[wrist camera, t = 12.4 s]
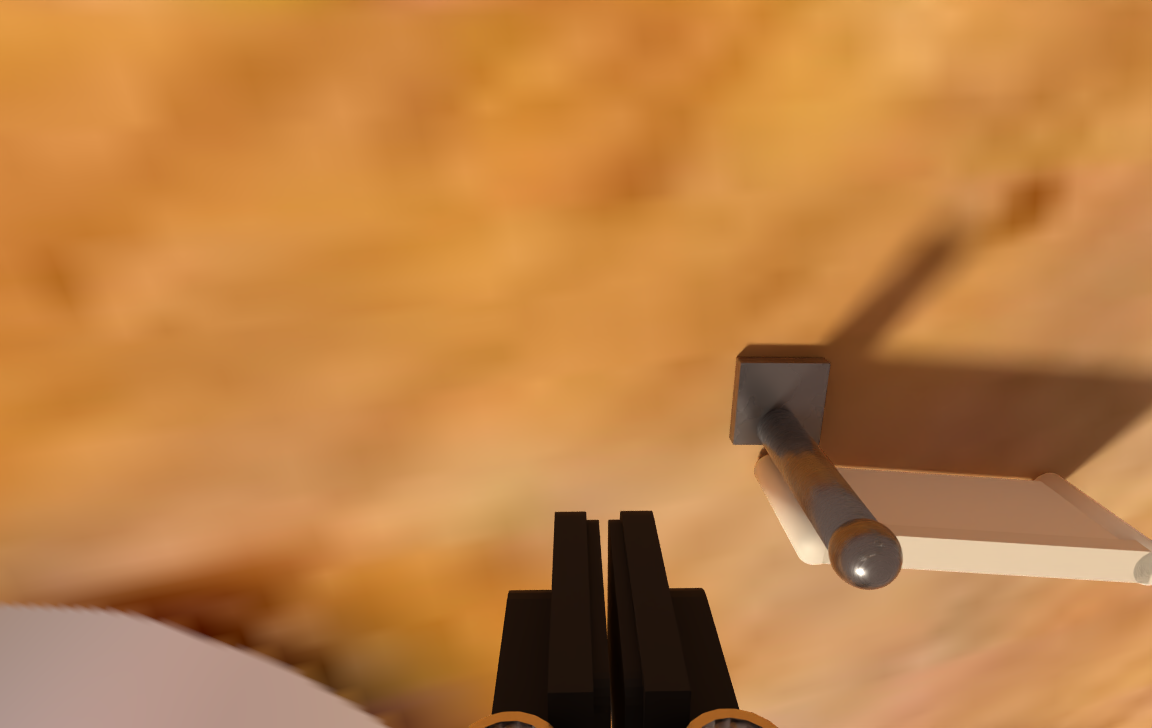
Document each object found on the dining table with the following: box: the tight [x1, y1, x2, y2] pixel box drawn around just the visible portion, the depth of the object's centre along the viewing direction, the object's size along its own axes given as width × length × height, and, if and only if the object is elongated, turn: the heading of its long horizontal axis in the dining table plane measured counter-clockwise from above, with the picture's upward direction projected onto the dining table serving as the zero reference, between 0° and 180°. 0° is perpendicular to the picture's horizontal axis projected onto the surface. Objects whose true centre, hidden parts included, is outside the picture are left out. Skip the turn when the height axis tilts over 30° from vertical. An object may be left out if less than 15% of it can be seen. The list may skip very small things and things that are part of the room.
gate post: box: [729, 357, 903, 590], centre depth 33 cm, size 5×5×15 cm
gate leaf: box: [754, 455, 1152, 585], centre depth 37 cm, size 2×19×8 cm, turn 85°
